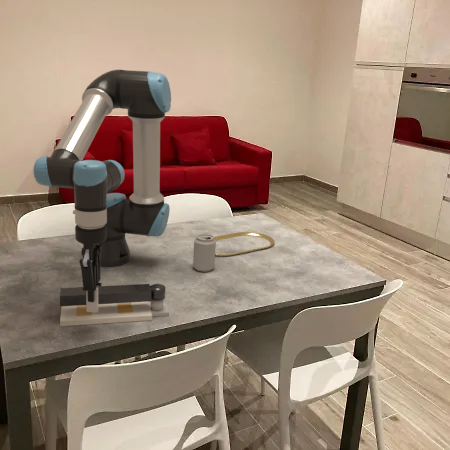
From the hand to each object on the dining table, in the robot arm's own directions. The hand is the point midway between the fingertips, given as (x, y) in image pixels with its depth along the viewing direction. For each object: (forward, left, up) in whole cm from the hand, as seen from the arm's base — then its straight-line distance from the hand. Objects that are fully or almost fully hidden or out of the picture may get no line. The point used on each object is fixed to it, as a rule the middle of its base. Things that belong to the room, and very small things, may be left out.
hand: (92, 310), depth 128 cm
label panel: (-7, +6, -5) cm, 11 cm away
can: (-36, +38, -6) cm, 53 cm away
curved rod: (-58, +56, -6) cm, 81 cm away
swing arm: (-7, +6, -1) cm, 9 cm away
